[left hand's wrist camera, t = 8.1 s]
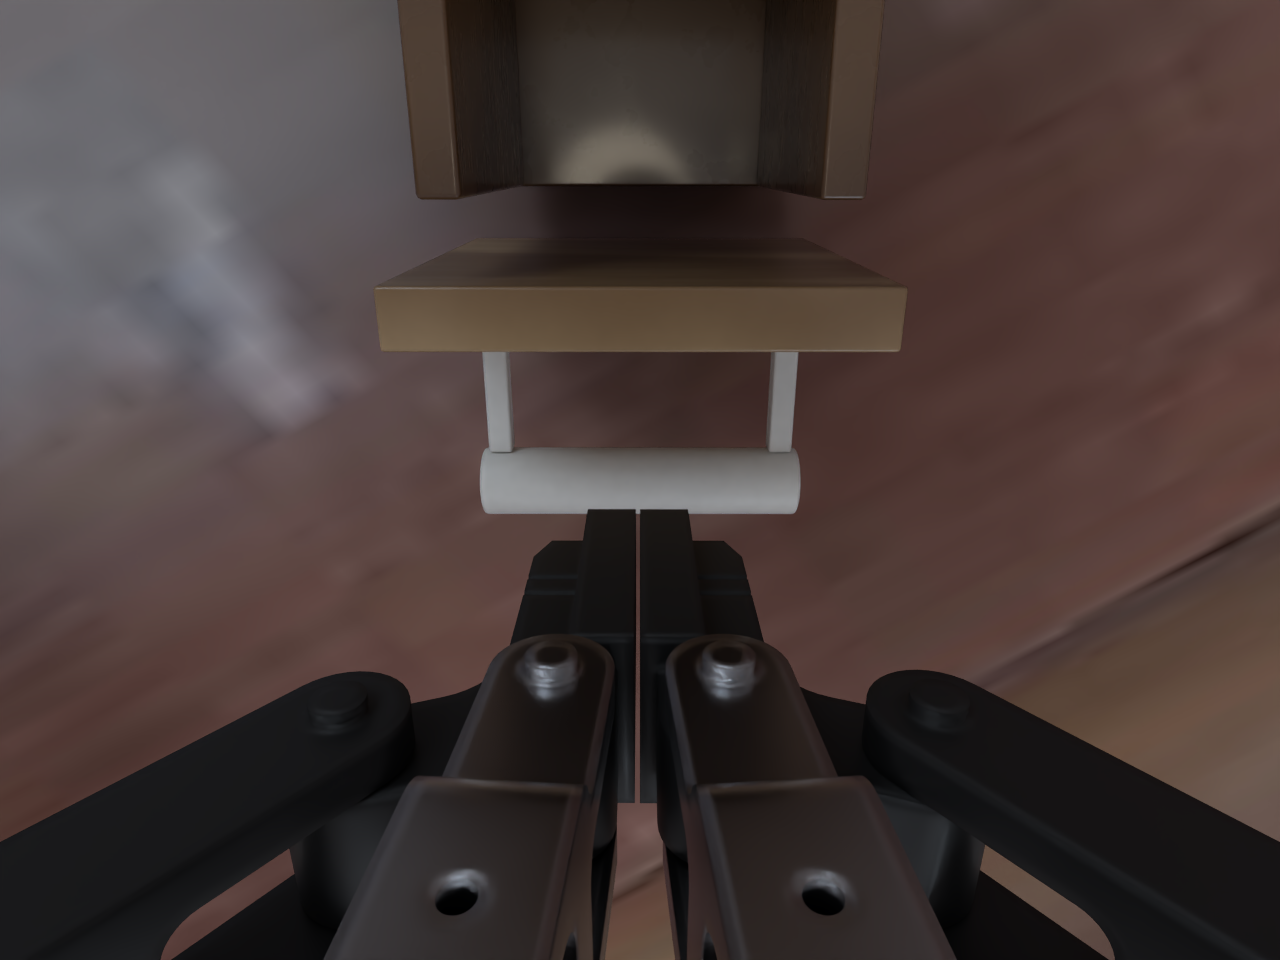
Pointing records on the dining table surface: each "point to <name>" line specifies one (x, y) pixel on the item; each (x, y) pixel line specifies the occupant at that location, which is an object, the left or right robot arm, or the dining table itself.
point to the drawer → (640, 267)
